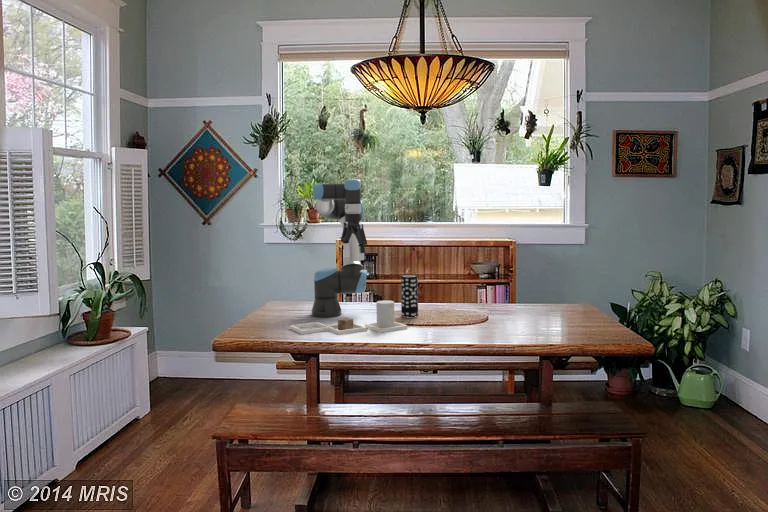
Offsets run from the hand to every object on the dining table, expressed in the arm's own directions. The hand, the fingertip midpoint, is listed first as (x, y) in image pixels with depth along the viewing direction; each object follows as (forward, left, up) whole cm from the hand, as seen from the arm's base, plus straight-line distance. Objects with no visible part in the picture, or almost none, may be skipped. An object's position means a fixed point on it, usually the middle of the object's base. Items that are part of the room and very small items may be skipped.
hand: (354, 258), depth 315 cm
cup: (+16, +7, -31) cm, 36 cm away
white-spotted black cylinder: (-1, +31, -31) cm, 44 cm away
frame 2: (+9, -10, -31) cm, 34 cm away
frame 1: (-1, -23, -31) cm, 38 cm away
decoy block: (+9, -10, -31) cm, 34 cm away
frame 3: (+16, +7, -31) cm, 36 cm away
